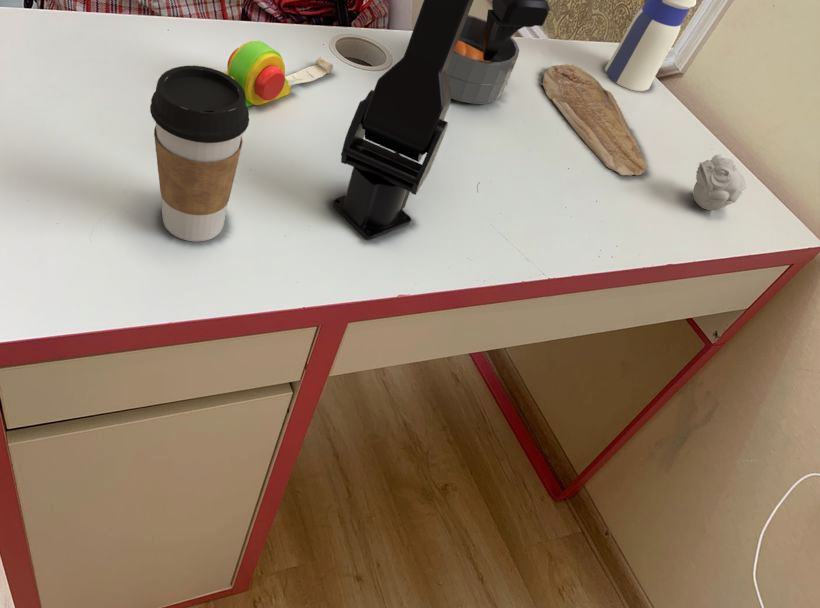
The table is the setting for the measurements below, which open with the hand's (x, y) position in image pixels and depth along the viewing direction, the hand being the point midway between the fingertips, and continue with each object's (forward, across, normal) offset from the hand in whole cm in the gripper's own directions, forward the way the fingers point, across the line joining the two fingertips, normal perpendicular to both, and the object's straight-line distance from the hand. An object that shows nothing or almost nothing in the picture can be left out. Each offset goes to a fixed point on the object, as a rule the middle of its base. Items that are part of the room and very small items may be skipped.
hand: (472, 41), depth 96 cm
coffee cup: (+6, -26, +43) cm, 50 cm away
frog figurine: (+6, -28, -24) cm, 38 cm away
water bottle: (+6, +2, -32) cm, 33 cm away
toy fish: (+4, 0, 0) cm, 4 cm away
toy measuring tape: (+6, -3, +28) cm, 29 cm away
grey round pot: (+6, 0, 0) cm, 6 cm away
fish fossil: (+6, -9, -18) cm, 21 cm away
